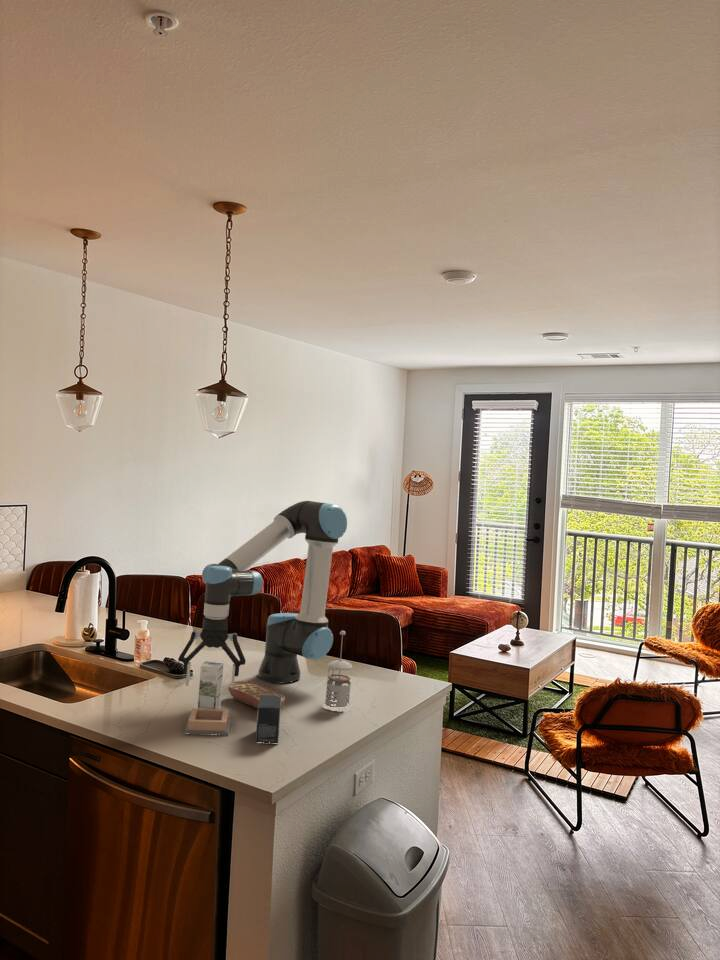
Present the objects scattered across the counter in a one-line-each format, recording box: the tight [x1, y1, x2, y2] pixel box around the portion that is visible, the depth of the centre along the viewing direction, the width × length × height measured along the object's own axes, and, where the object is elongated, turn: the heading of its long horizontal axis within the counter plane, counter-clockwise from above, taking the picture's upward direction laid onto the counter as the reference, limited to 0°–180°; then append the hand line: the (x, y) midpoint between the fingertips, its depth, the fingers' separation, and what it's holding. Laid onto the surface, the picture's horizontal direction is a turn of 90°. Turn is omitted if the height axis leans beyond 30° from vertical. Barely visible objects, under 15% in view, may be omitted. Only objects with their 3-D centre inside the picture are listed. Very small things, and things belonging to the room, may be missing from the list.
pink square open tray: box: [184, 707, 232, 736], centre depth 208 cm, size 12×12×4 cm
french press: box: [324, 630, 354, 707], centre depth 235 cm, size 10×12×25 cm
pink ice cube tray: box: [228, 680, 286, 710], centre depth 229 cm, size 23×10×5 cm, turn 47°
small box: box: [255, 695, 281, 744], centre depth 204 cm, size 11×6×10 cm, turn 5°
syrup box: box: [197, 660, 224, 709], centre depth 222 cm, size 6×6×14 cm
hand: (210, 685), depth 222 cm, fingers open, 13 cm apart
